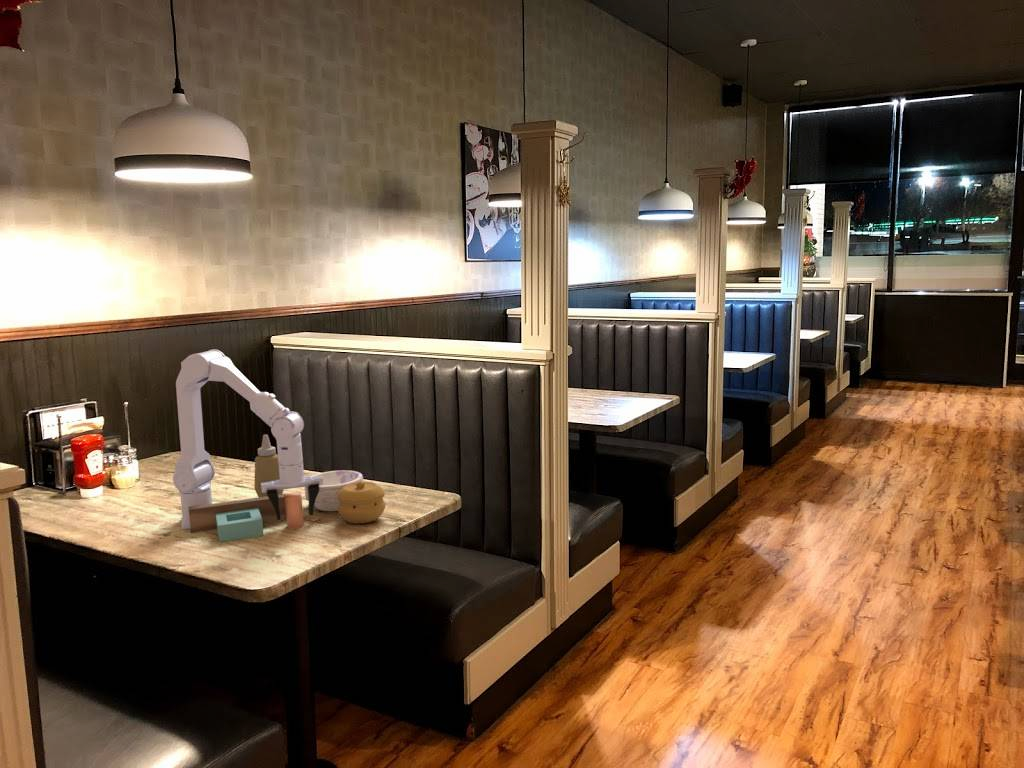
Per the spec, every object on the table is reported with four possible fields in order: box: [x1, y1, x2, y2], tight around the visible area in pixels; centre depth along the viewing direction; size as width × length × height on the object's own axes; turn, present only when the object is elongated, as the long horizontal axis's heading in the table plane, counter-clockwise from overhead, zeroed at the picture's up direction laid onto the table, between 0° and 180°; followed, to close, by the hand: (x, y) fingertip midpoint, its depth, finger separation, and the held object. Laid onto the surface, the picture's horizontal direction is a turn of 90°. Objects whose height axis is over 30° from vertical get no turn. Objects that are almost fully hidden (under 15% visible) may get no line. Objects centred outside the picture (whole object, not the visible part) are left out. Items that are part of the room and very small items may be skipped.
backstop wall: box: [188, 493, 287, 534], centre depth 208 cm, size 2×24×6 cm, turn 112°
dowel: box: [284, 492, 305, 529], centre depth 206 cm, size 4×4×8 cm
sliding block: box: [216, 508, 264, 543], centre depth 202 cm, size 10×10×4 cm
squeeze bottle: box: [253, 434, 285, 498], centre depth 228 cm, size 8×8×18 cm
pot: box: [337, 481, 387, 524], centre depth 209 cm, size 12×12×10 cm
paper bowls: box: [304, 469, 364, 512], centre depth 221 cm, size 15×15×8 cm
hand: (295, 516), depth 206 cm, fingers open, 7 cm apart
